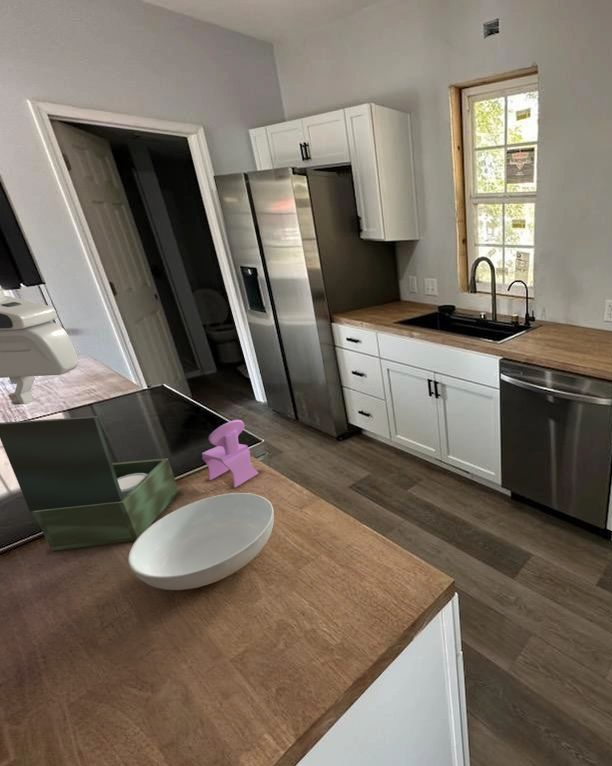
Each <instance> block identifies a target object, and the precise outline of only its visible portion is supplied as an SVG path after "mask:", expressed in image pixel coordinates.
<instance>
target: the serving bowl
mask: <svg viewBox="0 0 612 766" xmlns="http://www.w3.org/2000/svg"><path fill="white" fill-rule="evenodd" d="M274 523H275V511H274V507H273V505H272V502H270V500H269V499H267V498H266V497H263V496H262V495H259V494H255V493H250V492H249V493H248V492H229V493H223V494H218V495H214V496H209V497H206V498H202V499H200V500H196V501H194V502H191V503H189V504H186V505H183V506H181V507H179V508H177V509H175V510H173V511H172V512H170V513H168V514H166V515H165V516H163V517H161V518H159V519H158V520H156V521H154V522H153V523H152V524H151V525H150V527H149V528H148V529H146V530H145V531H144V532H143V533H142V534H141V535H140V536H139V537H138V539H137V540H135V541H134V543H133V544H132V545H131V548H130V549H129V552H128V555H127V562H128V566H129V568H130V569H131V571H132V572H133V573H134V575H135V576H136V577H137V579H139V580H140V581H141V582H143V583H145V584H147V585H149V586H150V587H154V588H156V589H160V590H168V591H183V590H192V589H198V588H201V587H204V586H208V585H211V584H213V583H216V582H218V581H221V580H223V579H225V578H227V577H229V576H231V575H233V574H234V573H236V572H238V571H240V570H241V569H242V568H243V567H245V566H246V565H248V564H249V563H250V562H251V561H252V560H254V559H255V557H257V556H258V554H260V552H261V551H262V550H263V549H264V548H265V546H266V544H268V541H269V539H270V537H271V535H272V532H273V529H274Z"/></svg>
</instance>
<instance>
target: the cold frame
mask: <svg viewBox="0 0 612 766" xmlns="http://www.w3.org/2000/svg"><path fill="white" fill-rule="evenodd" d="M112 465H113V468H114V471H115V474H116V477H117V479H118V478H120V477H123V476H126V475H130V474H135V473H145V474H148V475H147V476H146V477H145V478H144V479H143V480H142V481H141V482H140V483H139V484H138V485H137V486H136V487H135V488H133V489H132V490H131V491H130V492H129V493H128V494H127V495H126V496H125V497H124V499H123V500H122V501H121V502H113V503H103V504H94V505H84V506H75V507H66V508H56V509H47V510H37V511H32V514H33V515H34V517H35V519H36V521H37V523H38V526H39V527H40V529H41V532H42V534H43V536H44V538H45V540H46V542H47V545H48V546H49V548H50V550H51V551H53V552H54V551H55V552H56V551H63V550H71V549H78V548H86V547H94V546H102V545H110V544H118V543H125V542H135V541H136V540H137V539H138V537H139V536H140V535H141V534H142V533H143V532H144V531H145V530H146V529H148V528H149V527H150V526H151V525H153V524H154V523H155V522H156V520H157V518H158V517H159V516H160V515H161V514H162V512H164V510H165V509H166V508H167V506H169V504H170V503H171V502H172V501H173V500H174V498H175V497H176V496H177V495H178V494H179V492H180V490H179V488H178V484H177V482H176V478H175V475H174V471H173V470H172V466H171V463H170V460H169V458H167V457H166V458H155V459H143V460H134V461H133V460H132V461H121V462H112Z"/></svg>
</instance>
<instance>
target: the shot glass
mask: <svg viewBox="0 0 612 766" xmlns="http://www.w3.org/2000/svg"><path fill="white" fill-rule="evenodd" d="M147 475H148V474H145V473H135V474H130V475H126V476H123V477H120V478H118V479H117V480H118V483H119V486H120V489H121V492H122V495H123V498H124V497H125V496H126V495H127V494H128V493H129V492H130V491H131V490H132V489H133V488H135V487H136V486H137V485H138V484H139V483H140V482H141V481H142V480H143V479H144V478H145V477H146V476H147Z"/></svg>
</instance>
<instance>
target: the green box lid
mask: <svg viewBox="0 0 612 766" xmlns="http://www.w3.org/2000/svg"><path fill="white" fill-rule="evenodd" d="M0 442H1V444H2V447H3V450H4V451H5V455H6V456H7V459H8V462H9V464H10V467H11V470H12V471H13V474H14V476H15V479H16V481H17V484H18V486H19V489H20V491H21V493H22V496H23V498H24V500H25V503H26V506H27V508H28V510H29V512H34V511H37V510H47V509H56V508H66V507H75V506H84V505H94V504H103V503H113V502H121V501H122V500H123V499H124V498H123V495H122V492H121V489H120V486H119V483H118V480H117V477H116V474H115V471H114V468H113V465H112V463H113V462H112V458H111V455H110V452H109V449H108V446H107V442H106V441H105V437H104V434H103V431H102V428H101V424H100V422H99V419H98V415H97V416H96V415H91V416H83V417H82V416H79V417H66V418H65V417H64V418H62V417H61V418H49V419H47V418H46V419H35V420H34V419H33V420H19V421H5V422H4V421H3V422H2V421H1V422H0Z"/></svg>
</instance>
